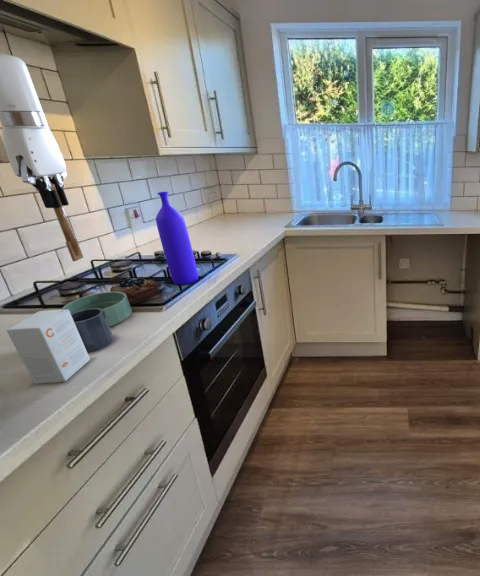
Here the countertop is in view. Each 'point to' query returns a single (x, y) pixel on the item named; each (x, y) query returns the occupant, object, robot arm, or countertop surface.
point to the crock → (93, 328)
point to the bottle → (176, 243)
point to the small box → (49, 346)
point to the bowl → (104, 305)
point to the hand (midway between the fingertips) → (57, 206)
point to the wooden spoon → (67, 231)
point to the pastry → (136, 289)
